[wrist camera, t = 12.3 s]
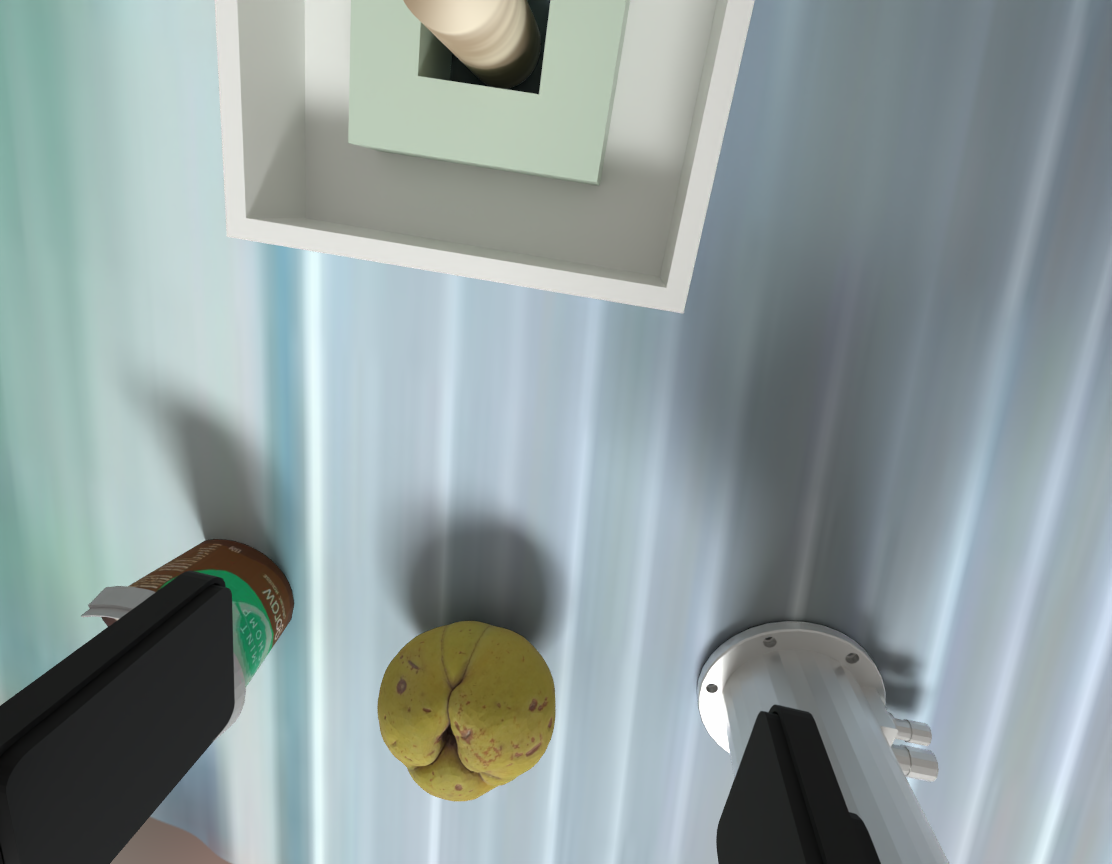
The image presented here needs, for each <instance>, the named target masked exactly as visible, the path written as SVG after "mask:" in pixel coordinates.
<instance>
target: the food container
mask: <svg viewBox="0 0 1112 864" xmlns="http://www.w3.org/2000/svg"><path fill="white" fill-rule="evenodd" d="M185 571H195V572H200V573H204V574H208V575H213V576H217V577H220V578H223V580H224V582H225V585H226V588H229V589H230V590H231V592H232V613H233V654H234V694H235V705H234V710H233V714H232V716H231V719H230V720H229V722H228V724H227V725H226V727H225V728H224V729H223V730H222V732H221V733H220V734H219V735H218V736H217V738H218V737H219V736H220V735H221V734H222V733H224V732H225V731H226V730H227V729H228V728H229V727H230V726H231V725H232V724H233V723H234V722H235V721H236V719H237V718H238V716H239V715H240V713H241V711H242V708H243V705H244V701H245V693H246V690H245V688H246V686H247V685H248V683H249V682H250V680H251V679H252V677H253V676H254V674H255V673H256V671H257V670H258V668H259V667H260V665H261V664H262V662H263V661H264V659H265V658H266V656H267V655H268V653H269V652H270V650H271V649H272V647H273V646H274V644H275V643H276V641H277V640H278V638H279V637H280V635H281V634H282V632H283V631H284V629H285V628H286V626H287V625H288V623H289V622H290V620H291V618H292V613H293V608H294V600H293V594H292V590H291V587H290V584H289V582H288V580H287V579H286V577H285V575H284V574H283V572H282V571H281V570H280V569H279V567H278V566H277V565H276V564H275V563H274V562H273V561H272V560H271V559H269V558H268V557H267V556H265V555H264V554H263V553H261V552H259V551H258V550H256V549H254V548H252V547H250V546H248V545H245V544H242V543H239V542H236V541H230V540H222V539H214V540H206V541H204V542H202V543H200V544H199V545H197V546H195V547H194V548H192V549H190V550H189V551H187V552H185V553H184V554H182V555H180V556H178V557H177V558H175V559H173V560H172V561H170V562H168V563H167V564H165V565H163V566H162V567H160V568H158V569H157V570H155V571H153V572H151V573H150V574H148V575H146V576H145V577H143V578H141V579H140V580H138V581H136V582H135V583H133V584H131V585H130V586H128V587H125V586H115V587H106V588H105V589H104V590H103V591H102V592H101V593H100V594H99V595H98V596H97V597H96V598H95V599H94V600H93V601H92V602H91V603H90V604H89V605H88V606H89V608H90V609H89V610H88V611H86V612H85V613H84V614H83V615H81V617H91V616H98V617H102V619H103V621H104V622H105V623H106V625H107V626H108V627H109V626H110V625H112V624H113V623H114V622H116V621H117V620H119V619H120V618H121V617H123V616H124V615H125V614H127V613H128V612H129V611H131V610H132V609H134V608H135V607H136V606H138V605H139V604H140V603H142V602H143V601H145V600H146V599H147V598H149V597H150V596H151V595H153V594H154V593H155V592H157V591H158V590H160V589H161V588H162V587H164V586H165V585H166V584H168V583H169V582H171V581H172V580H173V579H175V578H176V577H177V576H179V575H180V574H182V573H184V572H185ZM217 738H216V739H217ZM216 739H215V740H216Z"/></svg>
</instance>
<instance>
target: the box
mask: <svg viewBox="0 0 1112 864" xmlns="http://www.w3.org/2000/svg"><path fill="white" fill-rule="evenodd" d="M754 1H755V0H550V8H549V16H548V24H547V32H546V40H545V49H544V57H543V65H542V73H541V81H540V90H539V94H534V93H527V92H520V91H514V90H507V89H501V88H494V87H487V86H481V85H474V84H467V83H461V82H454V81H450V76H451V63H452V52H451V51H450V50H449V49H448V48H447V47H446V46H445V45H444V44H443V43H442V42H441V41H440V40H439V39H438V38H437V37H436V36H435V35H434V34H433V33H432V32H431V31H430V30H429V29H428V28H427V27H426V26H425V25H424V24H423V23H422V22H421V21H420V20H419V19H417V18H416V17H415V16H414V15H413V14H412V12H411V11H410V10H409V9H408V7H407V6H406V4H405V3H404V1H403V0H215V16H216V35H217V55H218V74H219V93H220V113H221V132H222V152H223V171H224V191H225V210H226V230H227V237H232V238H238V239H244V240H249V241H255V242H261V243H267V244H273V245H279V246H285V247H291V248H297V249H303V250H309V251H315V252H321V253H327V254H333V255H339V256H345V257H350V258H356V259H362V260H368V261H374V262H380V263H386V264H392V265H398V266H404V267H410V268H416V269H422V270H428V271H434V272H440V273H445V274H451V275H457V276H463V277H469V278H475V279H481V280H487V281H493V282H499V283H505V284H511V285H517V286H523V287H529V288H535V289H541V290H546V291H552V292H558V293H564V294H570V295H576V296H582V297H588V298H594V299H600V300H606V301H612V302H618V303H624V304H630V305H636V306H642V307H647V308H653V309H659V310H665V311H671V312H677V313H684V309H685V304H686V300H687V295H688V291H689V287H690V282H691V278H692V274H693V269H694V265H695V260H696V256H697V252H698V247H699V243H700V238H701V234H702V230H703V225H704V221H705V216H706V212H707V208H708V203H709V199H710V194H711V190H712V186H713V181H714V177H715V172H716V168H717V164H718V159H719V155H720V151H721V146H722V142H723V137H724V133H725V129H726V124H727V120H728V115H729V111H730V107H731V102H732V98H733V93H734V89H735V85H736V80H737V76H738V71H739V67H740V63H741V58H742V54H743V49H744V45H745V41H746V36H747V32H748V27H749V23H750V19H751V14H752V10H753V6H754Z"/></svg>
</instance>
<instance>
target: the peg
mask: <svg viewBox="0 0 1112 864" xmlns="http://www.w3.org/2000/svg"><path fill="white" fill-rule="evenodd" d="M403 1H404V3H405V4H406V6H407V7H408V9H409V10H410V11H411V12H412V14H413V15H414V16H415V17H416V18H417V19H419V20H420V21H421V22H422V23H423V24H424V25H425V26H426V27H427V28H428V29H429V30H430V31H431V32H432V33H433V34H434V35H435V36H436V37H437V38H438V39H439V40H440V41H441V42H442V43H443V44H444V45H445V46H446V47H447V48H448V49H449V50H450V51H451V52H452V53H453V54H454V55H455V56H456V57H457V58H458V59H459V60H460V61H461V62H462V63H463V64H464V65H465V66H466V67H467V68H468V69H469V70H470V71H471V72H472V73H473V74H474V75H475V76H476V77H478V78H479V79H480V80H481V81H482V82H483V83H485V84H487V85H488V86H491V87H494V88H501V89H508V88H512V87H515V86H517V85H519V84H521V83H522V82H524V81H525V80H526V79H527V78H528V77H529V76H530V75H531V73H532V72H533V70H534V69H535V67H536V65H537V62H538V59H539V56H540V50H541V37H540V32H539V28H538V25H537V23H536V20H535V18H534V16H533V13H532V11H531V9H530V7H529V4H528V2H527V0H403Z"/></svg>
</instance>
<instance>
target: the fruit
mask: <svg viewBox="0 0 1112 864" xmlns="http://www.w3.org/2000/svg"><path fill="white" fill-rule="evenodd" d="M378 719H379V724H380V731H381V735H382V737H383V740H384V742H385V744H386V745H387V747H388V748H389V750H390V751H391V753H392V754H393V755H394V756H395V757H396V758H397V759H398V760H400V761H401V762H402V763H403V764H404V765H405V766H406V767H407V769H408V771H409V773H410V775H411V777H412V778H413V780H414V781H415V782H416V783H417V784H418V785H419V786H420V787H421V788H422V789H423V790H425V791H426V792H427V793H429V794H431V795H433V796H436V797H439V798H442V799H445V800H450V801H468V800H473V799H476V798H478V797H480V796H481V795H483V794H485V793H486V792H488V791H490V790H492V789H493V788H495V787H497V786H499V785H504V784H506V783H508V782H510V781H512V780H513V779H515V778H516V777H517V776H519V775H521V774H523V773H524V772H526V771H528V770H529V769H531V768H532V767H533V766H534V765H535V764H536V763H537V762H538V761H539V760H540V758H541V757H542V755H543V754H544V753H545V751H546V749H547V746H548V744H549V742H550V740H551V737H552V733H553V729H554V722H555V688H554V682H553V678H552V675H551V672H550V670H549V668H548V666H547V664H546V662H545V661H544V659H543V658H542V656H541V655H540V654H539V652H538V651H537V650H536V649H535V647H534V646H533V645H532V644H531V643H530V642H529V641H527V640H526V639H525V638H524V637H523V636H521V635H519V634H517V633H515V632H514V631H511V630H508V629H505V628H501V627H497V626H492V625H490V624H487V623H483V622H478V621H460V622H455V623H452V624H450V625H445V626H441V627H437V628H434V629H432V630H429V631H427V632H424V633H422V634H420V635H418V636H417V637H415V638H414V639H412V640H411V641H410V642H409V643H407V644H406V645H405V646H404V647H403V648H402V649H401V650H400V652H399V653H398V654H397V655H396V656H395V657H394V659H393V660H392V661H391V662H390V664H389V666H388V667H387V669H386V671H385V674H384V677H383V680H382V683H381V687H380V692H379V698H378Z"/></svg>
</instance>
